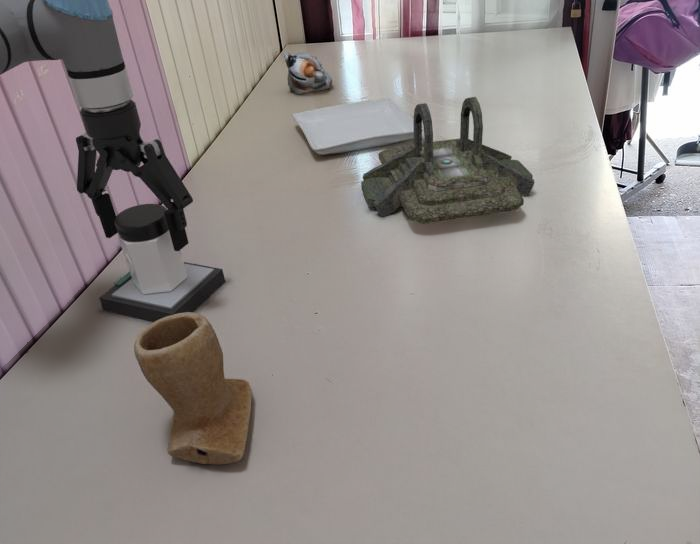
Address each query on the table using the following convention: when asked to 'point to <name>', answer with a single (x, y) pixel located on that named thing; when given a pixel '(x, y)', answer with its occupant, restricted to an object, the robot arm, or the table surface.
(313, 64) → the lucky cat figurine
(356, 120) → the square plate
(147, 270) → the jar
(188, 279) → the scale
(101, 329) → the table surface
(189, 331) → the clay smoking pipe
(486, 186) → the grey stone stepped platform
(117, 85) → the robot arm
